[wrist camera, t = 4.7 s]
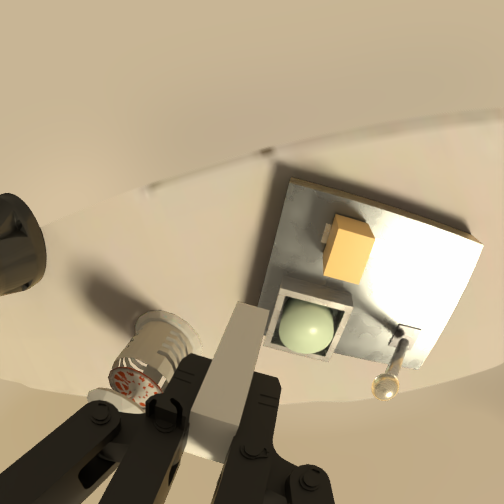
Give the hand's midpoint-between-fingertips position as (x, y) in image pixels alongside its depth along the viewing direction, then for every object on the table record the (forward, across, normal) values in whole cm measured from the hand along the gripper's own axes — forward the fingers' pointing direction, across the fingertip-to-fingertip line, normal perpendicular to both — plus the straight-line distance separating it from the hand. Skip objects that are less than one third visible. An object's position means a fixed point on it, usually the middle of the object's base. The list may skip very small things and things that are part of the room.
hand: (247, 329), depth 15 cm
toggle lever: (+15, +16, -8) cm, 23 cm away
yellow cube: (+15, +6, +1) cm, 16 cm away
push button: (+15, +5, -8) cm, 18 cm away
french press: (+19, -10, -21) cm, 30 cm away
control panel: (+18, +10, -4) cm, 21 cm away
